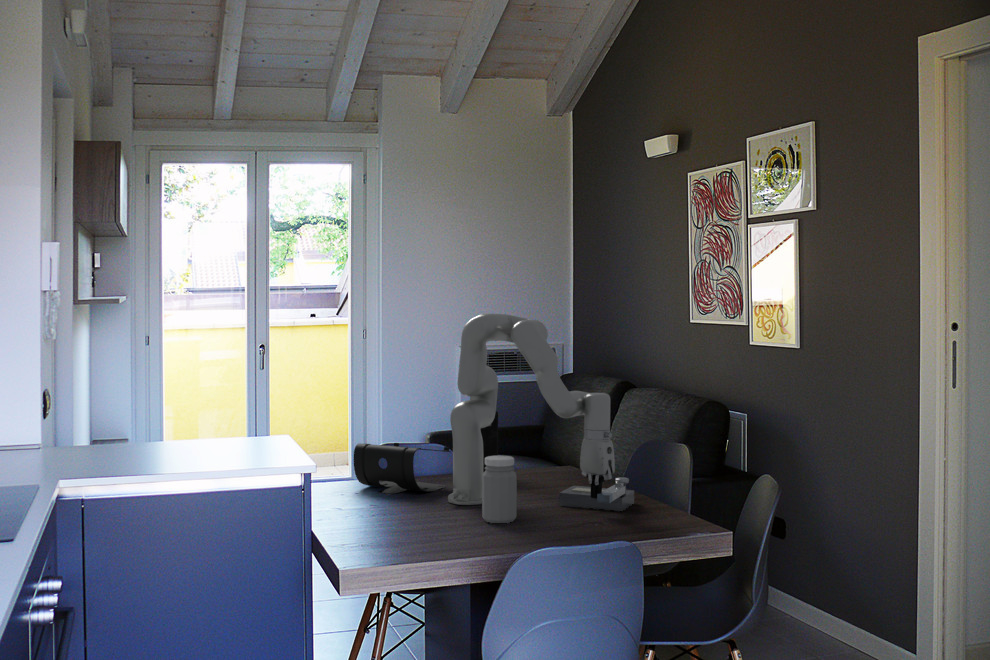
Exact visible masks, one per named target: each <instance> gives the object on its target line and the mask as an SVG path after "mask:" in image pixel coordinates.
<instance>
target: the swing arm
mask: <svg viewBox="0 0 990 660" xmlns="http://www.w3.org/2000/svg"><path fill="white" fill-rule="evenodd" d="M614 480H615V483H614V484H613V485H611V486H610V487H607V488H608V489H606V490H604V491H602V492H600V493H598V494H597V502H601V503H611V502H612V501H614V500H615V499H617V498H618V497H620V496H622V495H623V494H625V486H623V484H626V485H627V484H629V483H630V482H629V481H630V479H629V477H624V476H623V477H619V476H618V477H615V479H614Z"/></svg>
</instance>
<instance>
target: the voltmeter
mask: <svg viewBox="0 0 990 660" xmlns="http://www.w3.org/2000/svg"><path fill="white" fill-rule="evenodd" d="M480 430H481V435H482V439H483V473H484V471H485V470H486V469H485V467H486V465H485V458H486V457H488V456H498V455H499V412H498V411H497V410H496V413H495V417H494V420H493V422H492V423H491V424H490V425H489V426H487V427H485V428H481V429H480Z"/></svg>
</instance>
